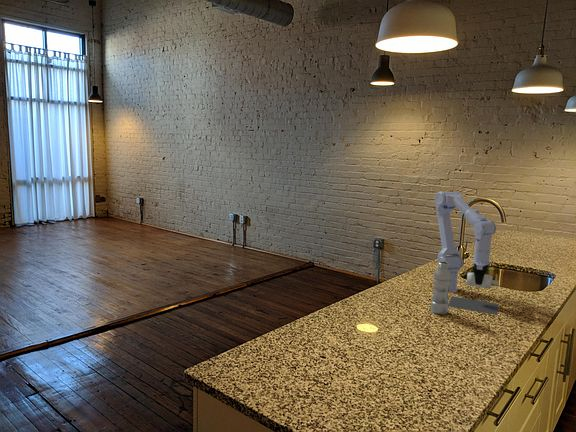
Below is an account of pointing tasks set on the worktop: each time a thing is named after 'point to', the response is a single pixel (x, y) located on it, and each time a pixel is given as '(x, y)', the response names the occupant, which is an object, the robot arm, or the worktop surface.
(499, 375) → the worktop surface
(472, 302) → the rubber mat
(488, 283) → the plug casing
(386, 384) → the worktop surface
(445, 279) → the plastic bottle
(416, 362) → the worktop surface
